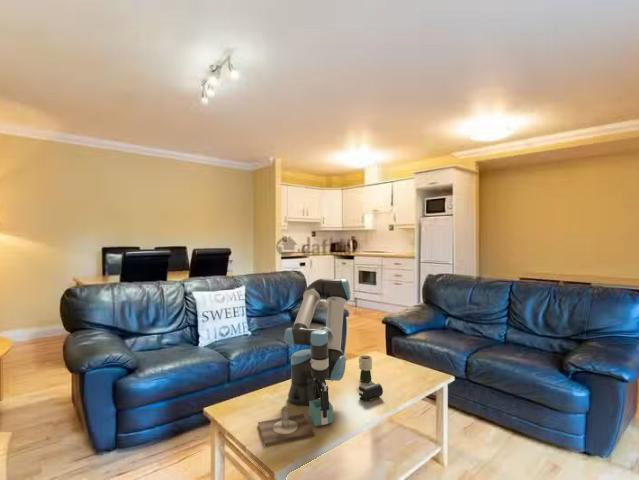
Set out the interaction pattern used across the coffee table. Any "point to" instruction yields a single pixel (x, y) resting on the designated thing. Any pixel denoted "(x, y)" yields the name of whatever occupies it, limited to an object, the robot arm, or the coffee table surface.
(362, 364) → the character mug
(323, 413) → the robot arm
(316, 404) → the teal ring
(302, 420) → the post stand
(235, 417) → the coffee table surface
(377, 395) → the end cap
